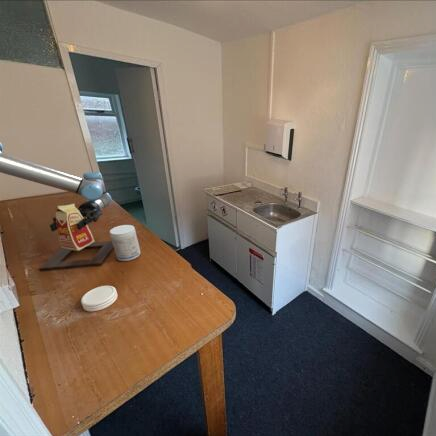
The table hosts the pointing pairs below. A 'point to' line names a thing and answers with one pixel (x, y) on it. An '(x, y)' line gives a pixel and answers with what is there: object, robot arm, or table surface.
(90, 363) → the table surface
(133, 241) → the supplement tub
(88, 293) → the coaster
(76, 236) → the milk carton
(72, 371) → the table surface
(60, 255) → the holder board
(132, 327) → the table surface
